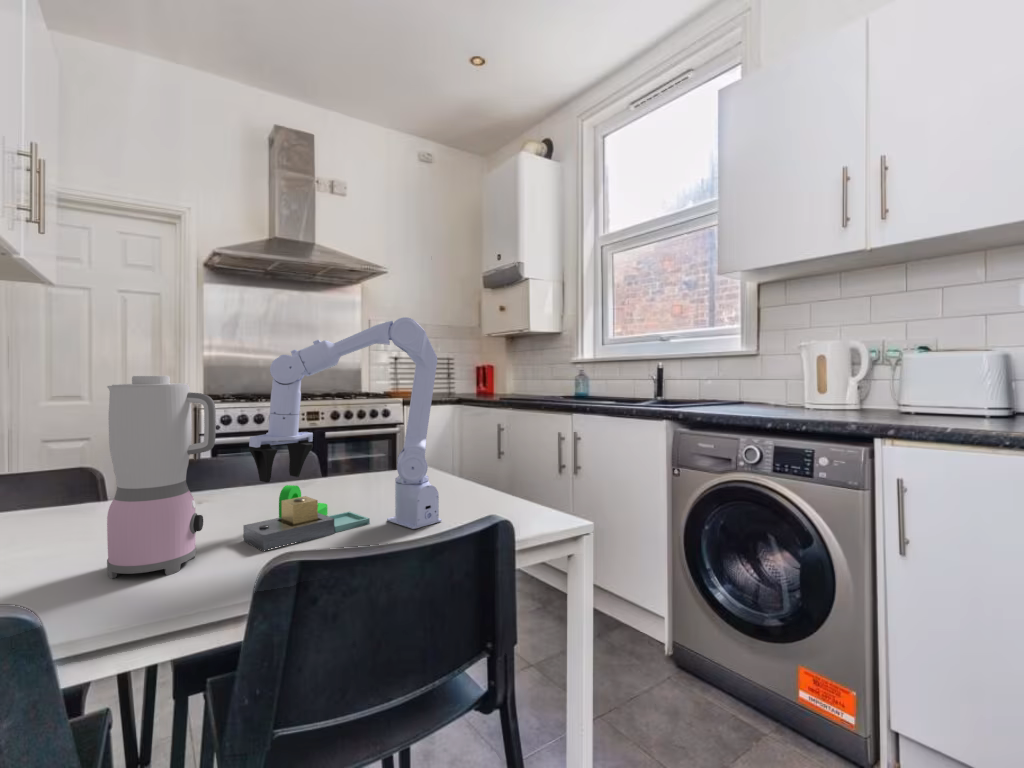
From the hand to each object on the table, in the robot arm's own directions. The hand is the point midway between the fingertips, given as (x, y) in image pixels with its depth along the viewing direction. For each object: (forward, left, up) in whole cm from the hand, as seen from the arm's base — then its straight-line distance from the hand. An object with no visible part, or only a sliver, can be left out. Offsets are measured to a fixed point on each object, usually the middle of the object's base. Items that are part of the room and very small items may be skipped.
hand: (280, 478), depth 107 cm
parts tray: (-7, -10, -10) cm, 16 cm away
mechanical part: (+2, -7, -11) cm, 13 cm away
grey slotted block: (-7, +1, -10) cm, 12 cm away
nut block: (-7, -1, -11) cm, 12 cm away
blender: (-6, +22, -11) cm, 25 cm away
